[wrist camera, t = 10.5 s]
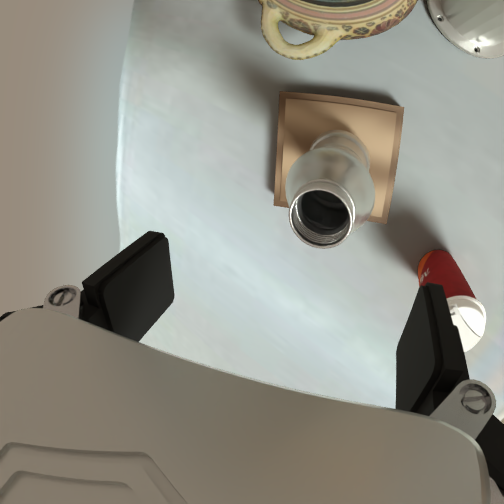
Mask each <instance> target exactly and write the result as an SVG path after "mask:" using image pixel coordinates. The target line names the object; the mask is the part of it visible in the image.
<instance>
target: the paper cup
mask: <svg viewBox="0 0 504 504" xmlns="http://www.w3.org/2000/svg"><path fill="white" fill-rule="evenodd" d="M418 278H419V287H420V286H421V285H422V286H425V284H426V283H427V282H429V283H435V284H440V285H442V286H443V288H444V292H445V295H446V299H447V302H448V306H449V310H450V313H451V317H452V321H453V325H456V326H457V327H458V330H459V334H460V338H461V342H462V346H463V350H464V352H466V351H468V350H470V349H471V348H472V347H474V346H475V345H476V343H477V342H478V341H479V340H480V339H481V337H482V335H483V333H484V329H485V322H486V313H485V309H484V307H483V306H482V304H481V303H480V302H479V301H478V300H477V299H476V298H475V296H474V294H473V292H472V290H471V288H470V286H469V285H468V283H467V281H466V279H465V277H464V276H463V274H462V272H461V270H460V269H459V267H458V265H457V264H456V262H455V261H454V259H453V258H452V256H451V255H450V254H449V253H447V252H446V251H443V250H434V251H431V252H429V253H427V254H426V255H424V256H423V258H422V259H421V260H420V263H419V266H418Z"/></svg>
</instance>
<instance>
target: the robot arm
mask: <svg viewBox="0 0 504 504" xmlns="http://www.w3.org/2000/svg"><path fill="white" fill-rule="evenodd" d="M427 5H428V9H429V12H430V14H431V17H432V19H433V21H434V23H435V24H436V26H437V28H438V29H439V30H440V31H441V33H442V34H443V35H444V36H445V37H446V38H447V39H448V40H449V41H450V42H451V43H452V44H453V45H455V46H456V47H457V48H459V49H460V50H462V51H464V52H466V53H468V54H470V55H473V56H475V57H479V58H485V59H490V58H497V57H501V56H503V55H504V0H427ZM438 18H439V19H441V21H439V20H438ZM474 49H476V52H475V51H474ZM82 284H83V288H84V290H83V291H81V292H80V289H79V288H78V287H76V286H73V285H64V286H60V287H57V288H55V289H53V290H52V291H50V292H49V293H48V294H47V296H46V298H45V301H44V305H42V306H37V307H32V308H27V309H21V310H18V311H13V312H7V313H5V314H3V315H2V316H1V317H0V504H504V424H503V423H502V422H500V421H499V420H498V419H497V418H496V417H495V416H494V415H493V413H494V410H495V408H496V400H495V396H494V394H493V392H492V391H491V389H490V388H489V387H488V386H487V385H485V384H484V383H482V382H480V381H477V380H470V379H469V374H468V369H467V364H466V359H465V355H464V350H463V346H462V342H461V338H460V334H459V330H458V327H457V326H456V325H453V321H452V317H451V313H450V310H449V306H448V302H447V299H446V295H445V292H444V288H443V286H442V285H440V284H435V283H429V282H427V283H426V284H425V286H422V285H421V286H420V287H419V290H418V293H417V296H416V298H415V301H414V304H413V307H412V310H411V312H410V315H409V318H408V320H407V323H406V325H405V328H404V330H403V333H402V335H401V338H400V340H399V343H398V346H397V351H396V409H392V408H386V407H381V406H376V405H371V404H365V403H359V402H353V401H348V400H343V399H338V398H333V397H328V396H323V395H319V394H314V393H309V392H305V391H300V390H296V389H292V388H288V387H283V386H279V385H275V384H271V383H268V382H264V381H260V380H256V379H252V378H249V377H245V376H241V375H238V374H234V373H231V372H227V371H224V370H221V369H217V368H214V367H211V366H207V365H204V364H201V363H198V362H195V361H192V360H188V359H185V358H182V357H179V356H176V355H173V354H171V353H168V352H165V351H162V350H159V349H156V348H153V347H150V346H148V345H145V344H142V343H139V341H140V340H141V338H142V337H143V336H144V335H145V334H146V333H147V331H148V330H149V329H150V328H151V327H152V326H153V324H154V323H155V322H156V321H157V320H158V319H159V318H160V316H161V315H162V314H163V313H164V312H165V311H166V309H167V308H168V307H169V306H170V305H171V304H172V302H173V300H174V287H173V279H172V271H171V262H170V253H169V243H168V239H167V238H166V237H165V235H164V234H163V233H159V232H154V231H148V232H147V233H145V234H144V235H143V236H141V237H140V238H139V239H137V240H136V241H135V242H133V243H132V244H131V245H129V246H128V247H127V248H125V249H124V250H123V251H121V252H120V253H119V254H117V255H116V256H115V257H113V258H112V259H111V260H110V261H108V262H107V263H106V264H104V265H103V266H102V267H100V268H99V269H98V270H97V271H95V272H94V273H93V274H91V275H90V276H89V277H88V278H86V279H85V280H84V281H83V282H82Z"/></svg>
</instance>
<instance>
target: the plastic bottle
mask: <svg viewBox="0 0 504 504" xmlns="http://www.w3.org/2000/svg"><path fill="white" fill-rule="evenodd" d="M369 169H370V157H369V153H368V150H367V148H366V146H365V145H364V143H363V142H362V141H361V140H360V139H359V138H358V137H357V136H355V135H354V134H352V133H350V132H347V131H343V130H330V131H327V132H324V133H322V134H321V135H319V136H318V137H317V138H316V139H315V140H314V141H313V143H312V145H311V147H310V150H309V151H308V152H306V153H305V154H303V155H302V156H301V157H299V158H298V159H297V160H296V161H295V162H294V163H293V165H292V166H291V168H290V170H289V172H288V175H287V178H286V185H285V190H286V198H287V202H288V205H289V208H290V209H289V221H290V225H291V227H292V229H293V231H294V233H295V234H296V235H297V237H298V238H299V239H300V240H302V241H303V242H304V243H306V244H308V245H310V246H312V247H316V248H323V249H325V248H332V247H335V246H337V245H339V244H341V243H342V242H343V241H344V240H345V239H346V238H347V237H348V235H349V234H351V233H353V232H354V231H356V230H357V229H359V228H360V227H361V226H362V225H363V224H364V223H365V222H366V221H367V219H368V218H369V216H370V215H371V212H372V210H373V208H374V203H375V188H374V184H373V180H372V178H371V176H370V174H369Z"/></svg>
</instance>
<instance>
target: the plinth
mask: <svg viewBox="0 0 504 504" xmlns="http://www.w3.org/2000/svg"><path fill="white" fill-rule="evenodd" d="M403 114H404V107H400V106H395V105H390V104H384V103H379V102H373V101H366V100H360V99H353V98H345V97H337V96H329V95H320V94H309V93H297V92H283V91H280V94H279V116H278V136H277V155H276V173H275V191H274V206H280V207H287V208H289V205H288V202H287V198H286V190H285V185H286V178H287V175H288V172H289V170H290V168H291V166H292V165H293V163H294V162H295V161H296V160H297V159H298V158H299V157H301V156H302V155H303V154H305V153H306V152H308V151H309V150H310V147H311V145H312V143H313V141H314V140H315V139H316V138H317V137H318V136H319V135H321V134H322V133H324V132H327V131H330V130H343V131H347V132H350V133H352V134H354V135H355V136H357V137H358V138H359V139H360V140H361V141H362V142H363V143H364V145H365V146H366V148H367V150H368V153H369V157H370V169H369V174H370V176H371V178H372V180H373V184H374V188H375V203H374V208H373V210H372V212H371V215H370V216H369V218H368V219H367V221H371V222H377V223H382V224H387V220H388V214H389V209H390V204H391V199H392V193H393V187H394V181H395V175H396V169H397V162H398V155H399V148H400V140H401V132H402V123H403Z"/></svg>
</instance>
